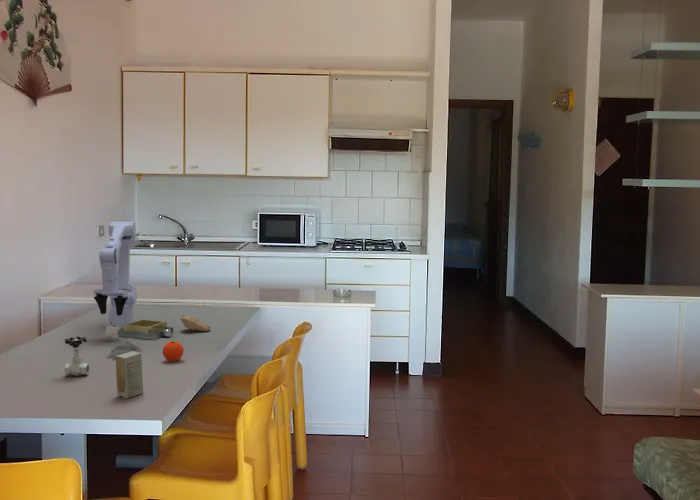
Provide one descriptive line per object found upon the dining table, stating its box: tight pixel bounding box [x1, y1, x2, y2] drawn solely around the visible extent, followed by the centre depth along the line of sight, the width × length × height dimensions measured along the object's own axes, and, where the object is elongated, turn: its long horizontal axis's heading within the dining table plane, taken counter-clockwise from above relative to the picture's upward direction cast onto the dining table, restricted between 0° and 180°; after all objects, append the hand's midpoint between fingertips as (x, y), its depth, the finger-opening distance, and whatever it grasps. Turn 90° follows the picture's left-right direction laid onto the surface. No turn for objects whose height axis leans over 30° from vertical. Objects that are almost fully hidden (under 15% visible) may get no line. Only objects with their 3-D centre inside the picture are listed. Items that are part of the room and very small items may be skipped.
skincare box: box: [115, 351, 144, 399], centre depth 198 cm, size 6×4×12 cm
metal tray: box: [118, 318, 174, 341], centre depth 271 cm, size 21×12×4 cm, turn 69°
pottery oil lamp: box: [180, 314, 211, 333], centre depth 277 cm, size 9×12×7 cm
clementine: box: [162, 340, 184, 362], centre depth 234 cm, size 8×7×7 cm
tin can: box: [105, 324, 120, 343], centre depth 262 cm, size 5×5×6 cm
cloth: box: [106, 340, 143, 361], centre depth 247 cm, size 26×14×2 cm, turn 175°
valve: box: [64, 336, 90, 377], centre depth 217 cm, size 7×7×12 cm
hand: (111, 314), depth 262 cm, fingers open, 7 cm apart
